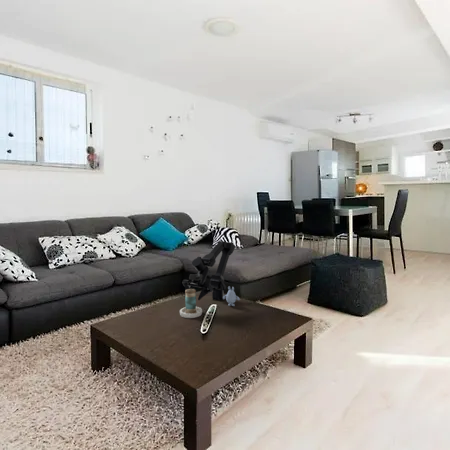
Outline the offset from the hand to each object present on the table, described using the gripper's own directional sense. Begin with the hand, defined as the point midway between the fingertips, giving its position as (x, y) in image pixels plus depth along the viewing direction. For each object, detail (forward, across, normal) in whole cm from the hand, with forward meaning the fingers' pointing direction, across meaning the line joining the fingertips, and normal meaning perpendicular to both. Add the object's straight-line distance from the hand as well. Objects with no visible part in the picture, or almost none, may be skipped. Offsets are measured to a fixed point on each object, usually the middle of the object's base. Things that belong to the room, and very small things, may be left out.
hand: (191, 298), depth 198 cm
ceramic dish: (+7, 0, +5) cm, 9 cm away
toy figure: (-9, +14, +22) cm, 27 cm away
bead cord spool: (+6, 0, +5) cm, 8 cm away
